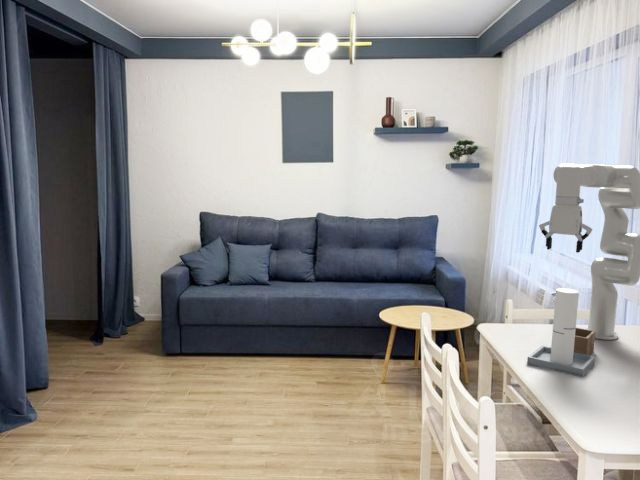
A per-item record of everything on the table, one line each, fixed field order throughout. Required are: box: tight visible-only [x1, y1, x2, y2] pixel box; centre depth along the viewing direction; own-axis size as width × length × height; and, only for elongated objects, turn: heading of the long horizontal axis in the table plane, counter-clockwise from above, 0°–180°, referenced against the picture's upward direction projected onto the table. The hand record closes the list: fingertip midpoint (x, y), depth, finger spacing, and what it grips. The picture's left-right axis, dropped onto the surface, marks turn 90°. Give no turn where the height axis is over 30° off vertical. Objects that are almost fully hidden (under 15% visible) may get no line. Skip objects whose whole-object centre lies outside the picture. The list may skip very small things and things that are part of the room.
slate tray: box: [526, 345, 596, 378], centre depth 202 cm, size 16×18×2 cm
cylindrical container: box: [550, 287, 580, 365], centre depth 200 cm, size 7×7×25 cm
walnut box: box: [574, 327, 596, 356], centre depth 213 cm, size 12×12×8 cm
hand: (563, 250), depth 204 cm, fingers open, 9 cm apart
